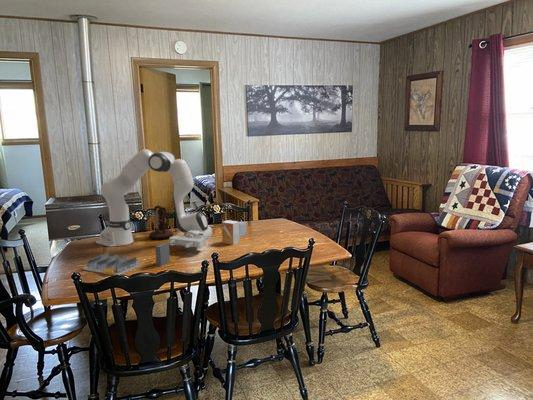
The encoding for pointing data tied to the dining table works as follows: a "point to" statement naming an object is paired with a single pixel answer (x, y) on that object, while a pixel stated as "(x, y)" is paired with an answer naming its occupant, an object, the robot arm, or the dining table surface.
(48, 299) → the dining table surface
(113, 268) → the rack
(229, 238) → the small box
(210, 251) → the dining table surface
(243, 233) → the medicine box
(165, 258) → the grey rectangular block
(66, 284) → the dining table surface
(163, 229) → the brown statue
